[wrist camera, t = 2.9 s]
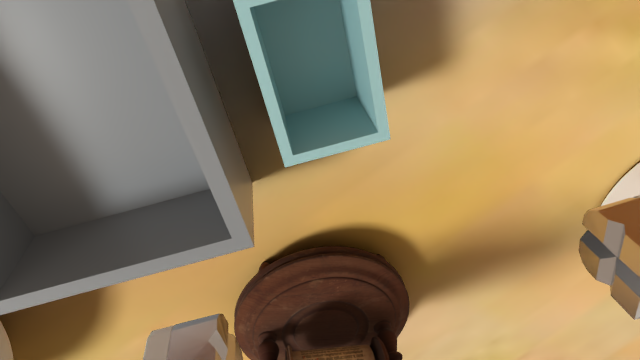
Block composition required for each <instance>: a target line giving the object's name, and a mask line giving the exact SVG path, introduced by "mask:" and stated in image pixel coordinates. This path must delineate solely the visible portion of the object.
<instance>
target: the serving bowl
mask: <svg viewBox="0 0 640 360" xmlns="http://www.w3.org/2000/svg"><path fill="white" fill-rule="evenodd" d="M0 360H13V353H12V348H11V344H10V341H9V338H8V336H7V333H6V331H5V329H4V327H3V325H2V323H1V321H0Z"/></svg>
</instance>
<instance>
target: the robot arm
mask: <svg viewBox="0 0 640 360" xmlns="http://www.w3.org/2000/svg"><path fill="white" fill-rule="evenodd" d="M583 225H584V226H585V227H586V228H587V229H588V230H587V231H586V233H585V234H584V235H583V236H582V238H581V239H580V244H579V253H580V256H581V259H582V262H583V264H584V266H585V267H586V269H587V270H588V272H589V273H590V274H591V275H592V276H593V277H594V278H595V279H596V280H598V281H600V282H603V283H605V284H608V285H610V291H611V296H612V297H613V298H614V299H615V300H616V301H617V302H618V303H619V304H620V305H621V306H622V308H623V309H624V310H625V311H626V312H627V313H628V314H629V315H630V316H631V317H632V318H633V319H634V320H635V319H639V318H640V163H638V164H637V165H636V166H635V167H633V168H632V169H631V170H630V171H629V172H628V173H627V174H626V175H625V176H624V177H623V178H622V179H621V180H620V181H619V182H618V183H617V184H616V185H615V186H614V188H613V189H612V190H611V191H610V193H609V194H608V195H607V197H606V198H605V200H604V201H603V203H602V205H601V206H600V207H596V208H593V209H590V210H588V211H587V212H586V213H585V215H584V218H583ZM143 360H243V357H242V352H241V349H240V346H239V343H238V341H237V339H236V337H235V336H234V335H231V334H229V333H228V322H227V320H226V319H225V317H224V315H223V314H216V315H212V316H208V317H204V318H200V319H196V320H192V321H188V322H184V323H180V324H176V325H174V326H170V327H166V328H162V329H158V330H154V331H152V332H151V333H150V335H149V337H148V338H147V343H146V347H145V352H144V357H143Z"/></svg>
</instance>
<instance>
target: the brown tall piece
mask: <svg viewBox="0 0 640 360" xmlns="http://www.w3.org/2000/svg"><path fill="white" fill-rule="evenodd" d="M408 314H409V297H408V293H407V290H406V288H405V286H404V283H403V281H402V279H401V277H400V275H399V274H398V272H397V271H396V270H395V269H394V267H393V266H391V265H390V264H389V263H388V262H387V261H386V260H385V259H384V257H382V256H381V255H379V254H377V255H375V254H373V253H370V252H368V251H364V250H361V249H357V248H351V247H342V246H326V247H316V248H311V249H306V250H302V251H298V252H295V253H293V254H290V255H287V256H285V257H283V258H280V259H279V260H277V261H275V262H273V263H271V264H270V265H269V263H267V262H263V263H262V264H261V266H260V268H259V272H258V273H257V274H256V275H255V276H254V277H253V278H252V279H251V280H250V281H249V283H248V284H247V285H246V286H245V288H244V289H243V291H242V293H241V294H240V296H239V299H238V301H237V304H236V308H235V322H234V330H235V336H236V339H237V341H238V343H239V346H240V348H241V349H242V351H243V352H244V353H245V354H246V356H247V357H248V358H250V359H251V360H402V354H401V353H399V352H397V337H398V336H399V334H400V333H401V331H402V329H403V328H404V326H405V323H406V321H407V318H408Z"/></svg>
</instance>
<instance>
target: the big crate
mask: <svg viewBox="0 0 640 360" xmlns="http://www.w3.org/2000/svg"><path fill="white" fill-rule="evenodd" d="M251 247H254V223H253V191H252V181H251V178H250V175H249V173H248V170H247V167H246V164H245V162H244V159H243V156H242V154H241V151H240V148H239V146H238V143H237V140H236V137H235V135H234V132H233V129H232V127H231V124H230V121H229V119H228V116H227V113H226V110H225V108H224V105H223V102H222V100H221V97H220V94H219V92H218V89H217V86H216V84H215V81H214V78H213V75H212V73H211V70H210V67H209V65H208V62H207V59H206V57H205V54H204V51H203V48H202V46H201V43H200V40H199V38H198V35H197V32H196V30H195V27H194V24H193V21H192V19H191V16H190V13H189V11H188V8H187V5H186V3H185V0H0V315H3V314H7V313H10V312H14V311H18V310H21V309H25V308H29V307H33V306H36V305H40V304H44V303H47V302H51V301H55V300H58V299H62V298H66V297H70V296H73V295H77V294H81V293H84V292H88V291H92V290H96V289H99V288H103V287H107V286H110V285H114V284H118V283H121V282H125V281H129V280H133V279H136V278H140V277H144V276H147V275H151V274H155V273H159V272H162V271H166V270H170V269H173V268H177V267H181V266H184V265H188V264H192V263H196V262H199V261H203V260H207V259H210V258H214V257H218V256H222V255H225V254H229V253H233V252H236V251H240V250H244V249H247V248H251Z"/></svg>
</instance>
